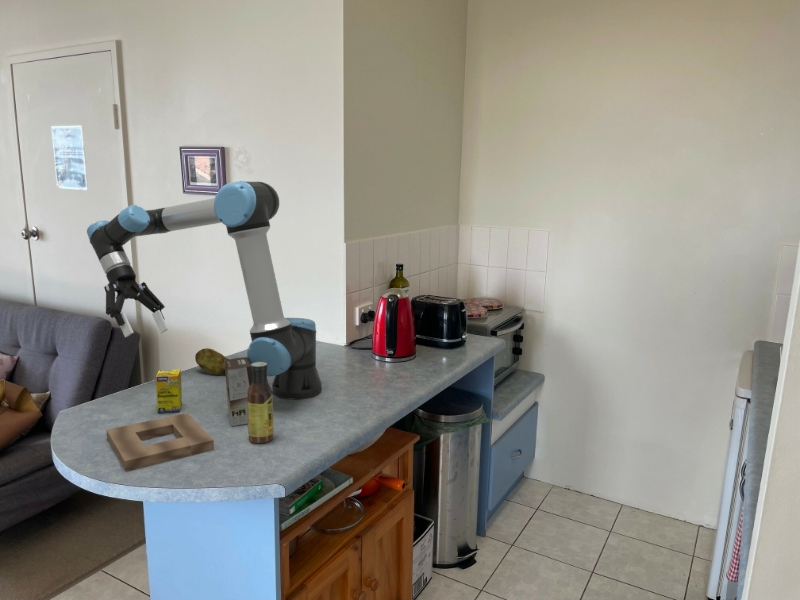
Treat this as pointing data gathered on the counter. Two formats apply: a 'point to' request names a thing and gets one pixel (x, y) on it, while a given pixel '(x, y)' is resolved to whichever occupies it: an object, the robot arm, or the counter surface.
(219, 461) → the counter surface
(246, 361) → the coffee box
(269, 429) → the sauce bottle
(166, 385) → the supplement box
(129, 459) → the socket board
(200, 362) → the potato
